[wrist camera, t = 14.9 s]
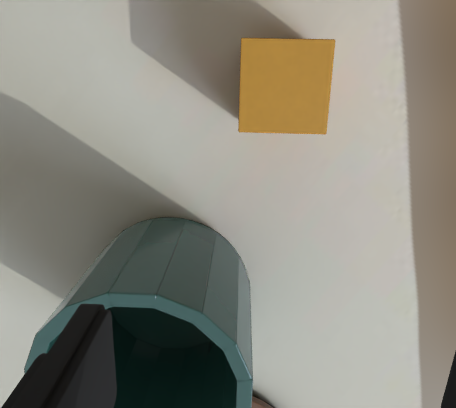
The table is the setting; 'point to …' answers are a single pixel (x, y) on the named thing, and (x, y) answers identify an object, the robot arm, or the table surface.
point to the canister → (169, 316)
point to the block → (285, 85)
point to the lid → (259, 403)
